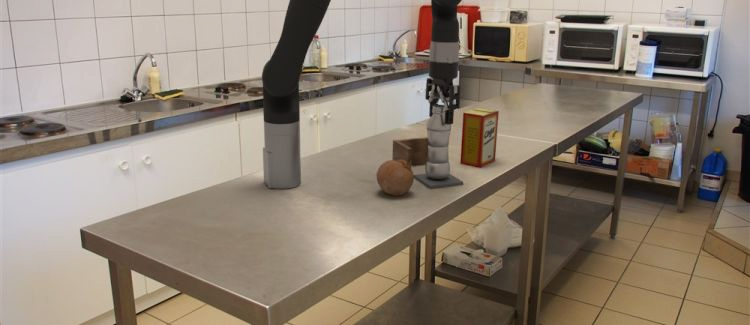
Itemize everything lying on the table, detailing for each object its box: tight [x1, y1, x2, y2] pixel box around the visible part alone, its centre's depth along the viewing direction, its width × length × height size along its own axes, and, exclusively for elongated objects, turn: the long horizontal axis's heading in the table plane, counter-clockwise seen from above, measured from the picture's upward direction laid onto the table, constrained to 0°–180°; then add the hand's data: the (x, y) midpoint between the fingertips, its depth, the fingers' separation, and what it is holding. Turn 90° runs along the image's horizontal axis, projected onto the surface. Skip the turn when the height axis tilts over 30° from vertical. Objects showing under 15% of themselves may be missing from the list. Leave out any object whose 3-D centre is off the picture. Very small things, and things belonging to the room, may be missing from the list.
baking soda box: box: [459, 107, 500, 169], centre depth 185 cm, size 10×6×16 cm
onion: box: [376, 159, 415, 197], centre depth 158 cm, size 10×9×10 cm
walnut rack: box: [391, 136, 428, 169], centre depth 178 cm, size 12×10×8 cm
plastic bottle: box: [424, 104, 452, 179], centre depth 166 cm, size 6×7×20 cm
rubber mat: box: [413, 173, 464, 189], centre depth 169 cm, size 10×10×1 cm
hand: (440, 120), depth 164 cm, fingers open, 8 cm apart
